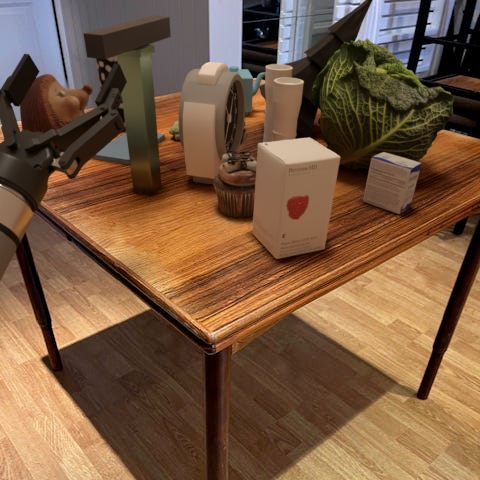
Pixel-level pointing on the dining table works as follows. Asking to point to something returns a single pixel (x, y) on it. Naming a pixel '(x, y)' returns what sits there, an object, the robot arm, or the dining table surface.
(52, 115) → the figurine
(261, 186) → the rectangular carton
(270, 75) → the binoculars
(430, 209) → the dining table surface
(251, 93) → the teapot
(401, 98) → the cabbage
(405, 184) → the box
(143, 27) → the bar
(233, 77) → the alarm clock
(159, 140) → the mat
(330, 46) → the decorative tree
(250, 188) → the cupcake
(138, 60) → the olive green post
